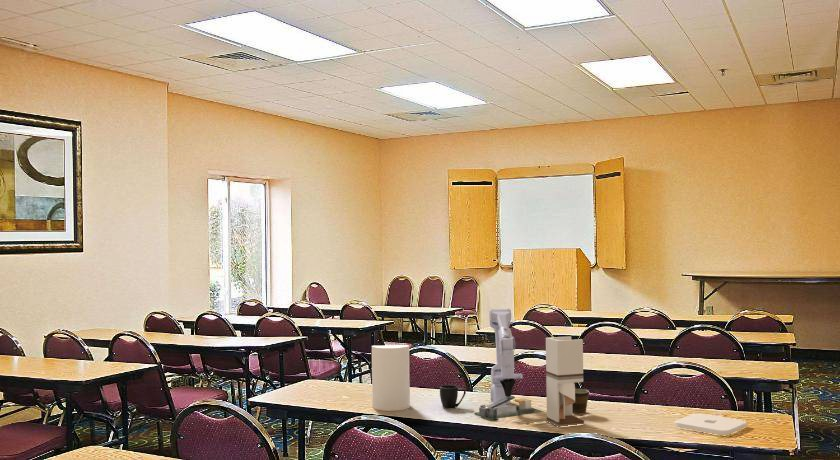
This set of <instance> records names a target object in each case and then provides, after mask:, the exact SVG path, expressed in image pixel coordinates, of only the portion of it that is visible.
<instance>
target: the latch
mask: <svg viewBox="0 0 840 460" xmlns="http://www.w3.org/2000/svg"><path fill="white" fill-rule="evenodd" d="M514 401H515V403H518V406H519V409H528V408H532V400H531V399H528V398H525V397H524V398H514ZM519 409H518V410H519Z"/></svg>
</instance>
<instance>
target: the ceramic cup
mask: <svg viewBox="0 0 840 460" xmlns="http://www.w3.org/2000/svg"><path fill="white" fill-rule="evenodd" d="M589 396H590V390H588V389H585V388H575V403H573V404H572V411H573V414H575V415H583V414H586V412H587V406H588V400H589Z"/></svg>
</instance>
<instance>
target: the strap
mask: <svg viewBox="0 0 840 460" xmlns="http://www.w3.org/2000/svg"><path fill="white" fill-rule="evenodd" d="M515 399H516V397H515V395H511V396H510V397H506V398H503V399H501V400H499V401H497V402H495V403H494V402H491V404H490V403H489V405H488V404H487V405H488V406H487V405H486V407H485V406H483V408H486V409H487V410H488V408H495V407H497V406H499V405H501V404H503V403H506V402H508V401H510V402H511V401H512V400H515Z"/></svg>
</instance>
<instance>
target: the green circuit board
mask: <svg viewBox="0 0 840 460" xmlns="http://www.w3.org/2000/svg"><path fill="white" fill-rule="evenodd" d="M483 406H485V407H486V406H488V404H487V405H485V404H482V405H480V407H478V408H479V411H474V413H473V414H474V415H476V416H477V417H480V418H483V419H484V420H485V419H486V420H488V421H491V422H495V421H500V419H501V418H508V417H510V418H511V417H515V416H516V417H517V416H521V415H528V414H529V415H531V414H537V413H543V412H544V411H542V410H540V409H538V408H534V407H531V408H528V409H519V405H509V404H507V403H503V404H501V405H499V406H497V407H495V408H488V410H487V409H486V408H483Z"/></svg>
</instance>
